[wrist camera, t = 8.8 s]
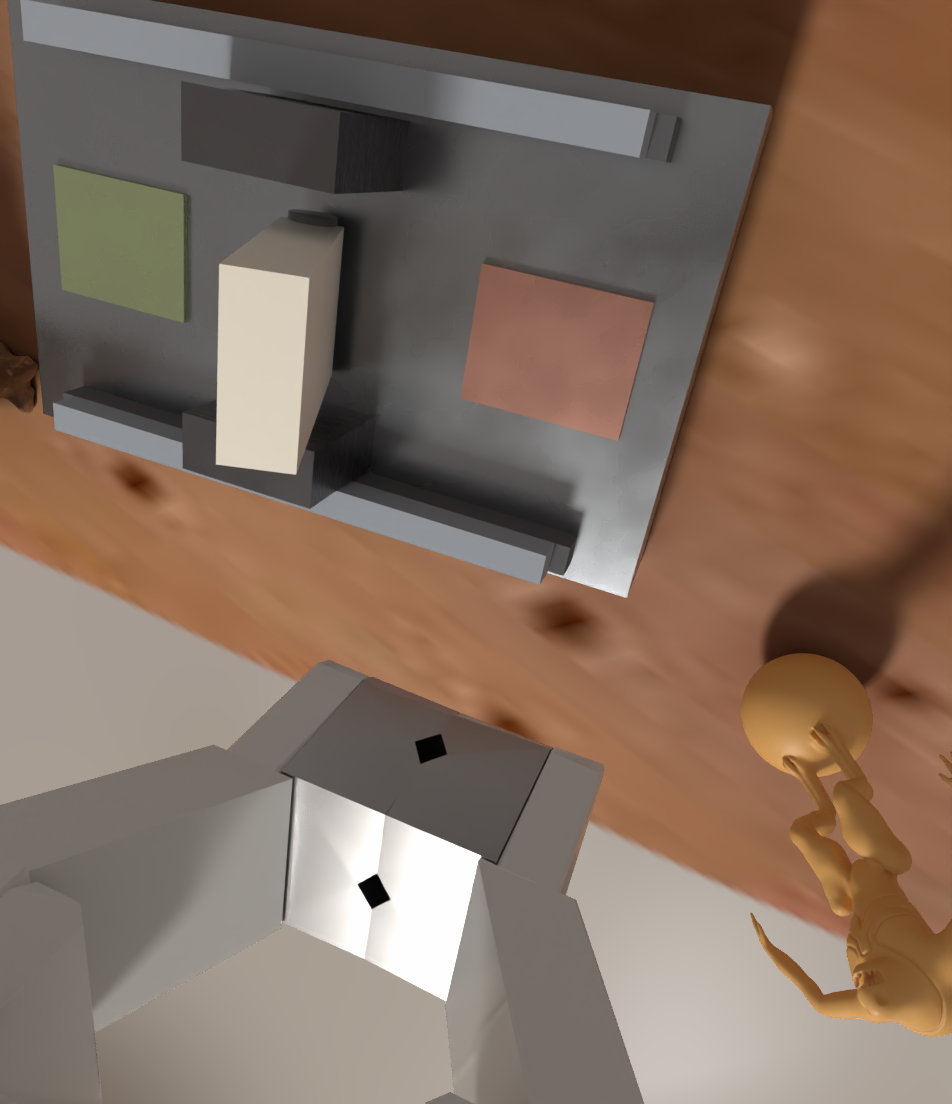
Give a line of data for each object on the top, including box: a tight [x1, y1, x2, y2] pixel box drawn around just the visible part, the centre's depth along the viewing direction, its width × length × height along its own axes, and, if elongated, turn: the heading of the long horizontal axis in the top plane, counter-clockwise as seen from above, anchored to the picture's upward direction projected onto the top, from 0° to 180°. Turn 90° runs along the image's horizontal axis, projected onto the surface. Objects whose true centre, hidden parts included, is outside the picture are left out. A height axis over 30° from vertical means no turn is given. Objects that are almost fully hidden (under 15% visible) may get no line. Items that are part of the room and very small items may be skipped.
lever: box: [216, 209, 344, 475], centre depth 21 cm, size 2×5×9 cm, turn 171°
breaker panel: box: [8, 0, 774, 598], centre depth 25 cm, size 23×14×7 cm, turn 80°
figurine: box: [741, 653, 952, 1037], centre depth 23 cm, size 8×6×12 cm
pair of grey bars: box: [20, 0, 682, 585], centre depth 25 cm, size 19×13×2 cm
